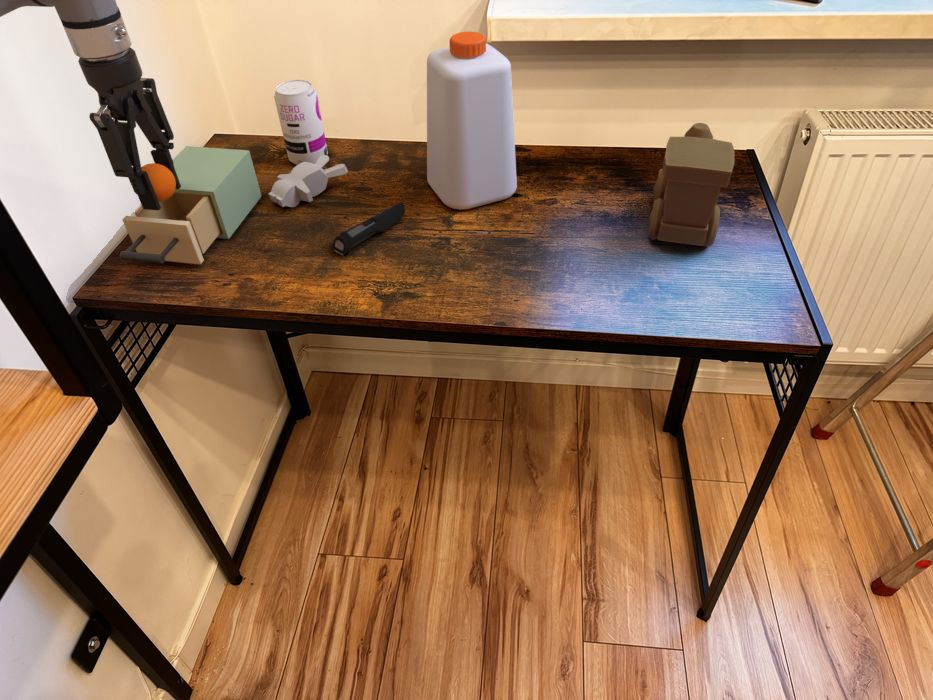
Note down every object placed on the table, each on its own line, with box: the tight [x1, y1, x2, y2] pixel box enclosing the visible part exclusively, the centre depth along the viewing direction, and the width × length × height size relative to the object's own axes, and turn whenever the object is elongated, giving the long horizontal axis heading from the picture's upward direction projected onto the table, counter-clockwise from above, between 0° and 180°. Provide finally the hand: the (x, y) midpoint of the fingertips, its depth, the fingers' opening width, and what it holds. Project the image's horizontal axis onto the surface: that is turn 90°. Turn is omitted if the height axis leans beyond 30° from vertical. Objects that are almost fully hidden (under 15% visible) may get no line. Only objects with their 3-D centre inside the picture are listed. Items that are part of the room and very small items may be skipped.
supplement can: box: [273, 79, 329, 166], centre depth 135 cm, size 8×8×15 cm
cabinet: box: [172, 145, 263, 240], centre depth 122 cm, size 15×13×10 cm
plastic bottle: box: [426, 31, 518, 211], centre depth 120 cm, size 15×15×28 cm
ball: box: [141, 162, 176, 202], centre depth 107 cm, size 6×6×6 cm
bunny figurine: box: [268, 154, 349, 208], centre depth 128 cm, size 10×5×15 cm
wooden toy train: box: [647, 122, 735, 248], centre depth 113 cm, size 20×11×17 cm, turn 164°
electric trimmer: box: [332, 201, 406, 256], centre depth 118 cm, size 4×16×3 cm, turn 137°
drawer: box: [119, 193, 222, 265], centre depth 113 cm, size 20×11×8 cm, turn 169°
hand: (162, 197), depth 109 cm, fingers closed on ball, 6 cm apart
